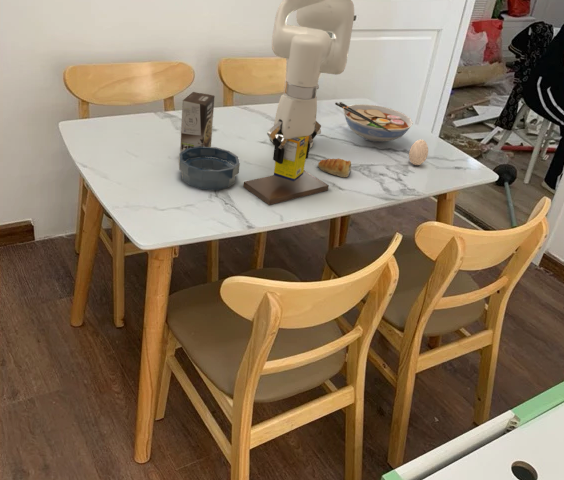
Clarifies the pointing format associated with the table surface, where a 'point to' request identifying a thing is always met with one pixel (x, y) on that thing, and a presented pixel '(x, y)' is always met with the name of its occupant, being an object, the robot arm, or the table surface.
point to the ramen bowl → (376, 121)
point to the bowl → (208, 167)
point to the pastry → (335, 167)
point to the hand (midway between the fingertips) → (290, 158)
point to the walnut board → (284, 187)
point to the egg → (418, 152)
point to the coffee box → (197, 120)
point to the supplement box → (292, 159)
